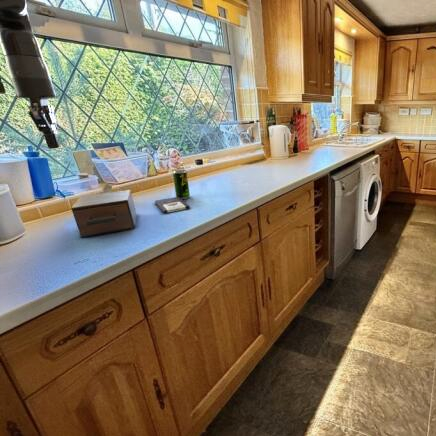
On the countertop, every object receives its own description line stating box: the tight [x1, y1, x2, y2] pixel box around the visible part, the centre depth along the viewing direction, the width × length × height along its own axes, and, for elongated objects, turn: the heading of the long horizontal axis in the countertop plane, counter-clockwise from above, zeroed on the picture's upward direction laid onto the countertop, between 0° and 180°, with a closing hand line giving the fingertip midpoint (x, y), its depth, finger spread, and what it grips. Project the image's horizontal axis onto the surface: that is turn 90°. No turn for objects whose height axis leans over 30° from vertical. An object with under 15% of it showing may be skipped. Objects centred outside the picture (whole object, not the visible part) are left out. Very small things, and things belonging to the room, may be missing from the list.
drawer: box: [74, 203, 132, 236], centre depth 96 cm, size 19×13×8 cm
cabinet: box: [70, 189, 138, 239], centre depth 99 cm, size 16×14×10 cm
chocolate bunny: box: [99, 182, 113, 194], centre depth 120 cm, size 6×8×10 cm
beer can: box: [172, 168, 191, 200], centre depth 129 cm, size 5×5×12 cm
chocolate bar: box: [154, 196, 190, 214], centre depth 120 cm, size 9×1×18 cm
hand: (54, 147), depth 81 cm, fingers closed
